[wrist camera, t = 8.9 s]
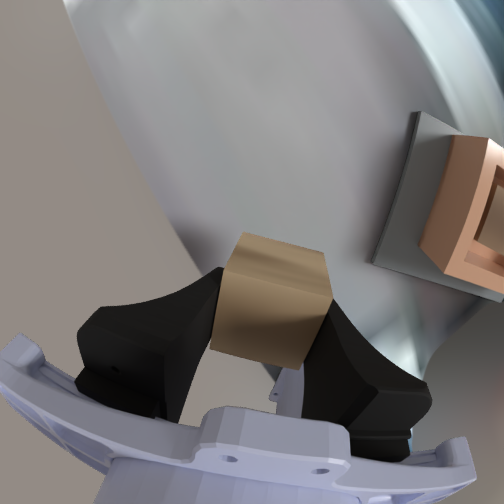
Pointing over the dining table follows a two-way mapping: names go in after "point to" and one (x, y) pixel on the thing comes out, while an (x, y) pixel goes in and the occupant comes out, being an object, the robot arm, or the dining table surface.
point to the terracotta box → (465, 213)
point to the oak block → (271, 302)
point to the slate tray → (420, 209)
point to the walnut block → (492, 221)
